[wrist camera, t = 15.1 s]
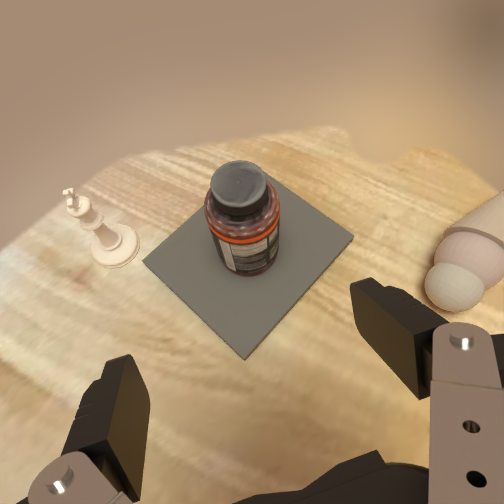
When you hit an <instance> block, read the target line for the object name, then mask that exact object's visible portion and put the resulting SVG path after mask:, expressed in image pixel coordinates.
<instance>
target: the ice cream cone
mask: <svg viewBox="0 0 504 504" xmlns="http://www.w3.org/2000/svg"><path fill="white" fill-rule="evenodd" d="M443 238H444V240H442V242H441V243H440V244H439V245H438V247H437V249H436V252H435V256H434V266H433V267H432V268H431V269H430V270H429V271H428V273H427V275H426V278H425V291H426V294H427V296H428V298H429V299H430V300H431V301H432V303H433V304H435V305H436V306H438V307H439V308H441V309H443V310H446V311H451V312H461V311H465V310H468V309H470V308H473V307H474V306H475V305H477V304H478V302H479V301H480V300H481V299H482V297H483V294H484V290H487V289H489V288H491V287H493V286H495V285H496V284H497V283H498V282H499V281H500V280H501V279H502V278H503V277H504V190H503V191H502V192H500V193H499V194H497V195H496V196H494V197H493V198H491V199H490V200H488V201H487V202H486V203H484V204H483V205H481V206H480V207H478V208H477V209H475V210H474V211H472V212H471V213H469V214H468V215H466V216H465V217H463V218H462V219H461V220H459V221H458V222H456V223H455V224H453V225H452V226H450V227H449V228H447V229H446V230H445V231H444V233H443Z"/></svg>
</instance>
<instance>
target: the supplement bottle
mask: <svg viewBox="0 0 504 504" xmlns="http://www.w3.org/2000/svg"><path fill="white" fill-rule="evenodd" d="M210 186H211V188H210V189H209V191H208V192H207V195H206V197H205V202H204V212H205V217H206V219H207V223H208V226H209V229H210V231H211V234H212V237H213V240H214V243H215V246H216V249H217V252H218V255H219V257H220V259H221V261H222V263H223V264H224V266H226V268H227V269H229V270H230V271H232V272H234V273H236V274H238V275H243V276H252V275H257V274H260V273H262V272H264V271H266V270H267V269H268V268H269V267H270V266H271V265H272V264H273V262H274V261H275V259H276V257H277V254H278V249H279V227H280V226H279V225H280V202H279V197H278V194H277V191H276V190H275V188H274V187H273V185H272V184H271V183H270V182H269V181H268V180H266V176H265V174H264V172H263V171H262V169H261V168H260V167H258V166H257V165H255V164H254V163H251V162H248V161H232V162H228V163H226V164H224V165H222V166H221V167H220V168H218V169H217V170H216V172H215V173H214V174H213V176H212V179H211V184H210Z"/></svg>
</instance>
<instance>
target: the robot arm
mask: <svg viewBox="0 0 504 504" xmlns="http://www.w3.org/2000/svg"><path fill="white" fill-rule="evenodd" d="M350 294H351V300H352V306H353V313H354V319H355V323H356V326H357V329H358V331H359V333H360V334H361V336H362V337H363V338H364V339H365V340H366V342H367V343H368V344H369V345H370V346H371V347H372V348H373V349H374V350H375V352H376V353H377V354H378V355H379V356H380V357H381V358H382V359H383V361H384V362H385V363H386V364H387V365H388V366H389V367H390V368H391V369H392V371H393V372H394V373H395V374H396V375H397V376H398V377H399V378H400V379H401V381H402V382H403V383H404V384H405V385H406V386H407V387H408V388H409V389H410V391H411V392H412V393H413V394H414V395H415V396H416V397H417V398H418V400H421V399H424V398H427V397H429V396H430V445H429V469H428V468H425V467H422V466H418V465H414V464H407V463H394V462H390V463H385V462H384V460H383V459H382V457H381V456H380V454H379V452H378V451H377V450H374V451H372V452H369V453H366V454H364V455H361V456H358V457H356V458H353V459H350V460H348V461H345V462H342V463H340V464H338V465H336V466H335V467H333V468H332V469H331V470H329V471H328V472H326V473H325V474H324V475H322V476H321V477H320V478H318V479H317V480H315V481H314V482H313V483H311V484H310V485H308V486H307V487H306V488H304V489H302V490H298V491H289V492H279V493H269V494H259V495H254V496H252V497H249V498H246V499H244V500H241V501H238V502H236V503H233V504H504V334H496V335H490V334H489V333H488V332H487V331H485V330H484V329H482V328H480V327H478V326H476V325H473V324H469V323H461V322H453V323H450V322H448V321H447V320H446V319H444V318H443V317H441V316H440V315H438V314H437V313H436V312H434V311H433V310H431V309H430V308H428V307H427V306H426V305H424V304H422V303H421V302H420V301H418V300H417V299H416V298H413V296H411V295H410V294H408V293H407V292H406V291H404V290H402V289H399V288H396V287H392V286H386V287H384V286H382V285H381V284H380V283H378V282H377V281H376V280H374V279H373V278H371V277H370V278H366V279H363V280H360V281H357V282H354V283H351V284H350ZM149 414H150V398H149V394H148V390H147V388H146V385H145V383H144V381H143V379H142V377H141V374H140V372H139V370H138V368H137V365H136V363H135V361H134V359H133V357H132V356H131V355H130V354H128V355H124V356H121V357H118V358H115V359H112V360H109V361H107V362H106V364H105V367H104V370H103V373H102V376H101V379H98V380H95V381H93V383H92V384H91V385H90V386H89V388H88V389H87V390H86V391H85V393H84V394H83V397H82V399H81V402H80V405H79V409H78V410H77V413H76V416H75V420H74V421H73V424H72V426H71V429H70V432H69V434H68V437H67V440H66V442H65V445H64V448H63V451H62V453H61V456H60V457H59V458H57V459H55V460H54V461H53V462H51V463H50V464H49V465H47V466H46V467H45V468H44V469H43V470H42V471H41V472H40V473H39V475H38V476H37V477H36V478H35V480H34V481H33V483H32V485H31V487H30V489H29V493H28V497H26V498H25V499H23V500H21V501H20V502H18V503H16V504H133V503H135V502H137V501H140V496H141V487H142V478H143V469H144V460H145V451H146V442H147V432H148V423H149Z"/></svg>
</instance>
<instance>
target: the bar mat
mask: <svg viewBox="0 0 504 504" xmlns="http://www.w3.org/2000/svg"><path fill="white" fill-rule="evenodd" d="M263 172H264V171H263ZM264 174H265V176H266V180H268V181H269V182H270V183H271V184H272V185H273V187H274V188H275V190H276V191H277V194H278V197H279V202H280V225H279V226H280V227H279V249H278V254H277V257H276V259H275V261H274V262H273V264H272V265H271V266H270V267H269V268H268V269H267V270H266V271H264V272H262V273H260V274H257V275H252V276H243V275H238V274H236V273H234V272H232V271H230V270H229V269H227V268H226V266H224V264H223V263H222V261H221V259H220V257H219V255H218V252H217V249H216V246H215V243H214V240H213V237H212V234H211V231H210V229H209V226H208V223H207V219H206V217H205V212H204V205H203V206H202V207H201V208H200V209H199V210H198V211H197V212H196V213H195V214H193V215H192V216H191V217H190V218H189V219H188V220H187V221H186V222H185V223H183V224H182V225H181V226H180V227H179V228H178V229H177V230H176V231H175V232H173V233H172V234H171V235H170V236H169V237H168V238H167V239H166V240H164V241H163V242H162V243H161V244H160V245H159V246H158V247H157V248H156V249H154V250H153V251H152V252H151V253H150V254H149V255H148V256H147V257H146V258H144V259H143V260H142V261H143V263H144V264H145V265H146V266H147V267H148V268H149V269H150V270H151V271H152V272H153V273H154V274H156V275H157V276H158V277H159V278H160V279H161V280H162V281H163V282H164V283H165V284H166V285H167V286H168V287H169V288H170V289H171V290H172V291H173V292H174V293H175V294H176V295H177V296H178V297H179V298H180V299H181V300H182V301H184V302H185V303H186V304H187V305H188V306H189V307H190V308H191V309H192V310H193V311H194V312H195V313H196V314H197V315H198V316H199V317H200V318H201V319H202V320H203V321H204V322H205V323H206V324H207V325H208V326H209V327H210V328H211V329H213V330H214V331H215V332H216V333H217V334H218V335H219V336H220V337H221V338H222V339H223V340H224V341H225V342H226V343H227V344H228V345H229V346H230V347H231V348H232V349H233V350H234V351H235V352H236V353H237V354H238V355H239V356H241V357H242V358H243V359H244V360H246V359H247V358H248V357H249V356H250V354H251V353H252V352H253V351H254V350H255V349H256V348H257V347H258V345H259V344H260V343H261V342H262V341H263V340H264V339H265V338H266V336H267V335H268V334H269V333H270V332H271V331H272V330H273V329H274V328H275V326H276V325H277V324H278V323H279V322H280V321H281V320H282V319H283V317H284V316H285V315H286V314H287V313H288V312H289V311H290V310H291V308H292V307H293V306H294V305H295V304H296V303H297V302H298V301H299V299H300V298H301V297H302V296H303V295H304V294H305V293H306V292H307V291H308V289H309V288H310V287H311V286H312V285H313V284H314V283H315V282H316V280H317V279H318V278H319V277H320V276H321V275H322V274H323V273H324V271H325V270H326V269H327V268H328V267H329V266H330V265H331V264H332V262H333V261H334V260H335V259H336V258H337V257H338V256H339V255H340V254H341V252H342V251H343V250H344V249H345V248H346V247H347V246H348V245H349V243H350V242H351V241H352V240H353V238H354V235H353V234H351V233H350V232H348V231H347V230H345V229H344V228H343V227H341V226H340V225H338V224H337V223H336V222H334V221H333V220H331V219H330V218H329V217H327V216H326V215H324V214H323V213H322V212H320V211H319V210H317V209H316V208H314V207H313V206H312V205H310V204H309V203H307V202H306V201H305V200H303V199H302V198H300V197H299V196H298V195H296V194H295V193H293V192H292V191H290V190H289V189H288V188H286V187H285V186H283V185H282V184H281V183H279V182H278V181H276V180H275V179H274V178H272V177H271V176H269V175H268V174H267V173H265V172H264Z"/></svg>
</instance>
